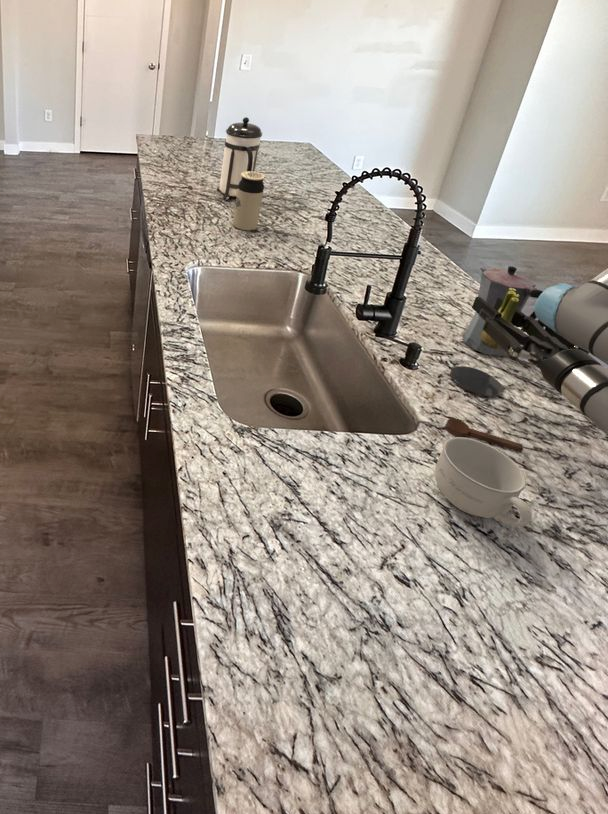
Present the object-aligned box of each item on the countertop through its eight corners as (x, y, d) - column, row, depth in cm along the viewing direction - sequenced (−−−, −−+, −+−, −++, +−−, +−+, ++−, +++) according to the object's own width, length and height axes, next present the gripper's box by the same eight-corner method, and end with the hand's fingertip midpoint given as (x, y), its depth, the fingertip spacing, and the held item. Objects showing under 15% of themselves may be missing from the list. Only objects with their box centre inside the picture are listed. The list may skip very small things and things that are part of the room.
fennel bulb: (486, 334, 109) (508, 283, 104) (513, 347, 106) (537, 295, 101) (473, 343, 107) (494, 291, 101) (500, 356, 103) (524, 303, 98)
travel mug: (255, 222, 182) (264, 172, 175) (257, 232, 175) (267, 180, 167) (231, 220, 183) (239, 170, 176) (233, 229, 176) (241, 177, 169)
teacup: (415, 468, 90) (430, 433, 87) (480, 471, 90) (497, 436, 87) (464, 547, 78) (483, 509, 74) (539, 551, 78) (562, 513, 74)
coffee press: (205, 194, 205) (215, 116, 192) (229, 185, 215) (240, 110, 202) (244, 208, 193) (257, 126, 180) (267, 198, 203) (282, 119, 190)
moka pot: (471, 324, 130) (500, 251, 122) (535, 363, 117) (573, 285, 109) (441, 330, 127) (469, 256, 119) (504, 371, 114) (540, 291, 106)
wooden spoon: (518, 443, 96) (521, 438, 96) (522, 457, 93) (525, 452, 93) (444, 420, 101) (446, 415, 100) (446, 433, 98) (448, 428, 97)
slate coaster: (497, 376, 113) (498, 374, 113) (504, 403, 105) (505, 401, 105) (448, 363, 116) (449, 361, 116) (452, 388, 109) (452, 386, 109)
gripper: (522, 397, 89) (439, 317, 110) (622, 399, 89) (520, 319, 110) (540, 361, 85) (451, 285, 107) (643, 363, 86) (534, 287, 107)
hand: (486, 302), depth 108 cm, fingers closed on fennel bulb, 4 cm apart
